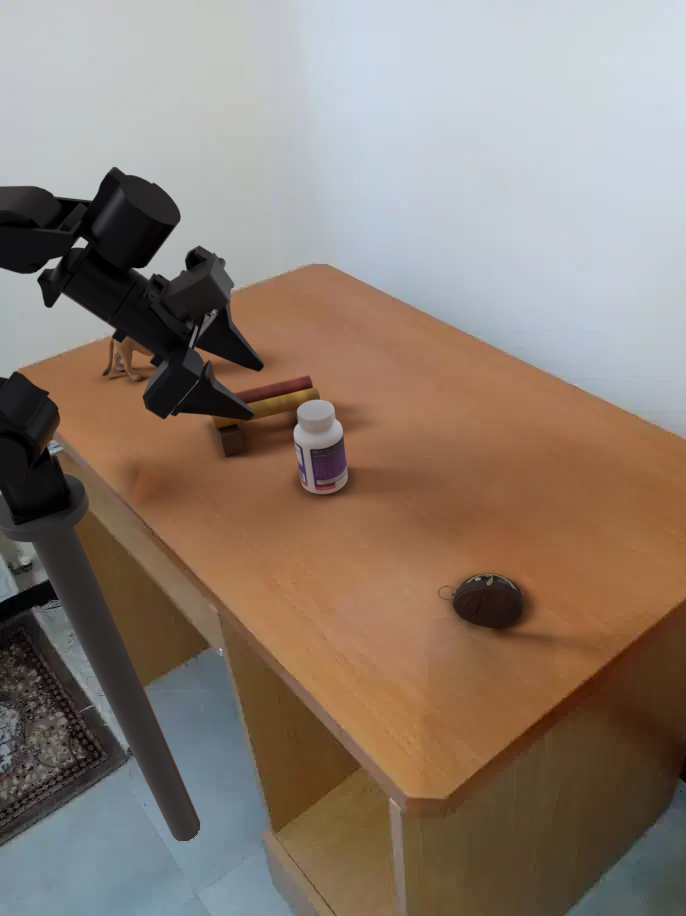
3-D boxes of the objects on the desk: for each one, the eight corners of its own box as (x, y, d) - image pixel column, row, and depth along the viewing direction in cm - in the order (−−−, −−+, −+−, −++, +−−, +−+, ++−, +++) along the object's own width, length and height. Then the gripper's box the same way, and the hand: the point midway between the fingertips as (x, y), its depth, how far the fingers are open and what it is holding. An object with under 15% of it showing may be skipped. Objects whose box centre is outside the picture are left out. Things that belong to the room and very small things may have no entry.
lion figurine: (209, 354, 113) (196, 295, 107) (211, 373, 109) (197, 313, 103) (103, 370, 111) (84, 310, 105) (102, 389, 107) (81, 329, 101)
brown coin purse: (522, 581, 77) (528, 526, 72) (519, 644, 72) (524, 589, 67) (441, 574, 79) (441, 520, 74) (431, 635, 73) (430, 581, 68)
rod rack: (222, 457, 94) (214, 423, 91) (210, 426, 99) (202, 392, 96) (326, 430, 98) (322, 396, 94) (309, 402, 102) (305, 368, 99)
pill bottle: (356, 472, 91) (349, 401, 85) (334, 500, 88) (325, 428, 81) (315, 461, 93) (305, 391, 86) (292, 489, 89) (280, 417, 83)
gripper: (146, 282, 64) (298, 391, 71) (187, 198, 78) (311, 296, 85) (80, 371, 70) (227, 464, 77) (129, 277, 84) (250, 364, 91)
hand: (257, 391), depth 82 cm, fingers open, 9 cm apart
